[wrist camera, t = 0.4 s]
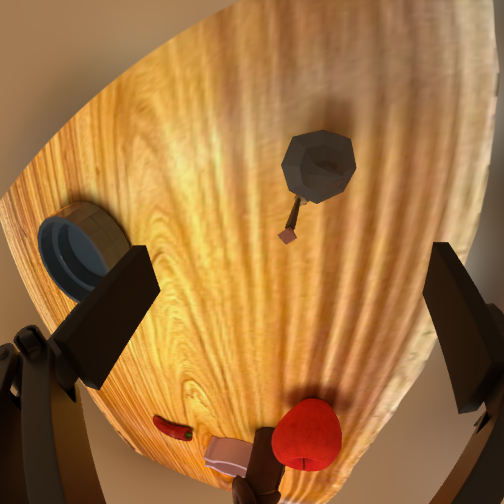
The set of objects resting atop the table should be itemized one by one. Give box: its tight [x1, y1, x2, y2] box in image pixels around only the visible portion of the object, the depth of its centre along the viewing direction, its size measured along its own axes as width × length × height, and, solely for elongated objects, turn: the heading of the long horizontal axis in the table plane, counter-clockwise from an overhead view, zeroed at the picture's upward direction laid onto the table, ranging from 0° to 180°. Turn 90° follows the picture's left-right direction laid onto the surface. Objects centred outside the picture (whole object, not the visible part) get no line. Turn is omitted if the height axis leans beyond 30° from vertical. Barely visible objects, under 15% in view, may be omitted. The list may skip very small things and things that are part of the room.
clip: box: [204, 436, 253, 478], centre depth 66 cm, size 20×12×7 cm, turn 86°
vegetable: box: [153, 416, 193, 441], centre depth 69 cm, size 4×5×12 cm
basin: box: [37, 201, 130, 303], centre depth 42 cm, size 16×16×6 cm
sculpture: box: [232, 428, 286, 504], centre depth 48 cm, size 12×13×30 cm
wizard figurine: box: [278, 130, 356, 244], centre depth 25 cm, size 8×6×12 cm
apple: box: [271, 398, 342, 471], centre depth 45 cm, size 12×12×13 cm
